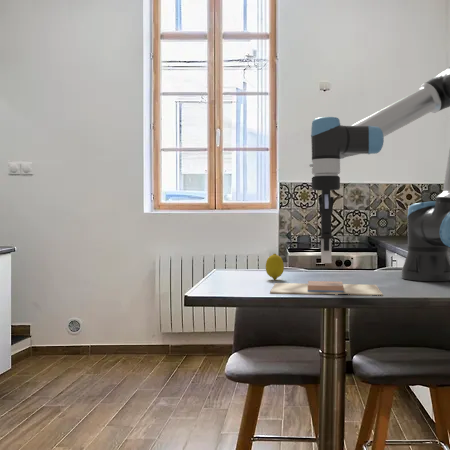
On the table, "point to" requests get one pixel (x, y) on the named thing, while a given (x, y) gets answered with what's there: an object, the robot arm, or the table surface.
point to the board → (303, 289)
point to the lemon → (274, 266)
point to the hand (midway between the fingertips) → (326, 262)
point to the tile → (325, 286)
